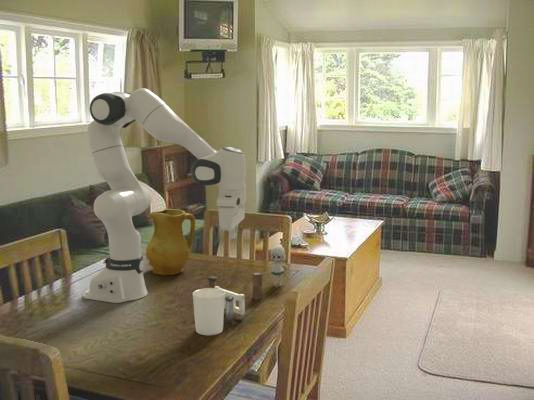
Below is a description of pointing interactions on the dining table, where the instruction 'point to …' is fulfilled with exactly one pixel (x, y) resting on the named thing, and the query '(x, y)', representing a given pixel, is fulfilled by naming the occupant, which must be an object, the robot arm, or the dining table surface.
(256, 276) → the fence post
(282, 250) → the figurine
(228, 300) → the post
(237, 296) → the gate
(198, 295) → the candle holder
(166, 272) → the pitcher
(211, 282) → the hinge post
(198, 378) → the dining table surface
